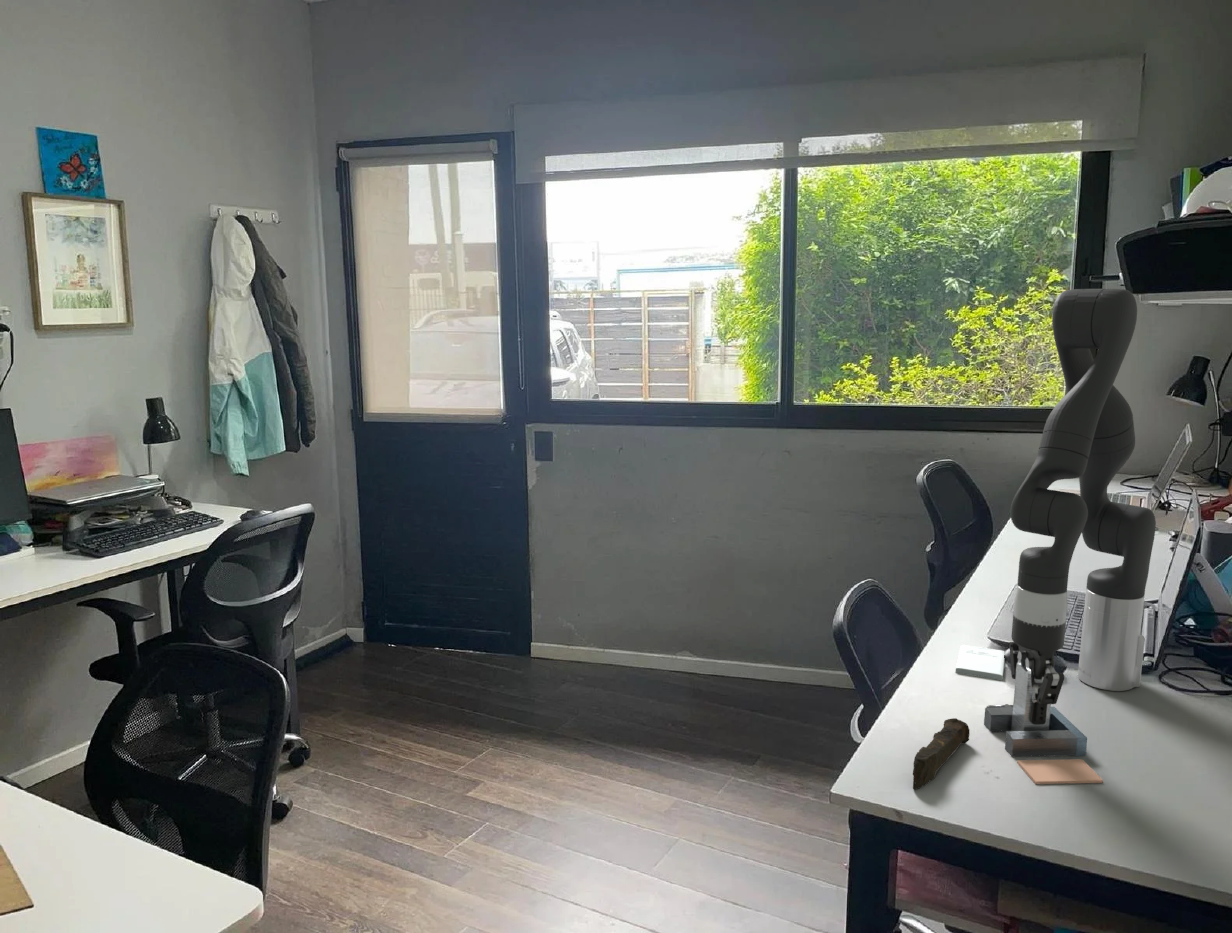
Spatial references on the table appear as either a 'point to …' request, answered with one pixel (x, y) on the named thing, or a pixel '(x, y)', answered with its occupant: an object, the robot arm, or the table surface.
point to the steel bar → (1025, 703)
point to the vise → (1036, 734)
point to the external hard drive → (980, 662)
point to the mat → (1059, 771)
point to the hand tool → (938, 751)
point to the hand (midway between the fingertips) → (1030, 715)
